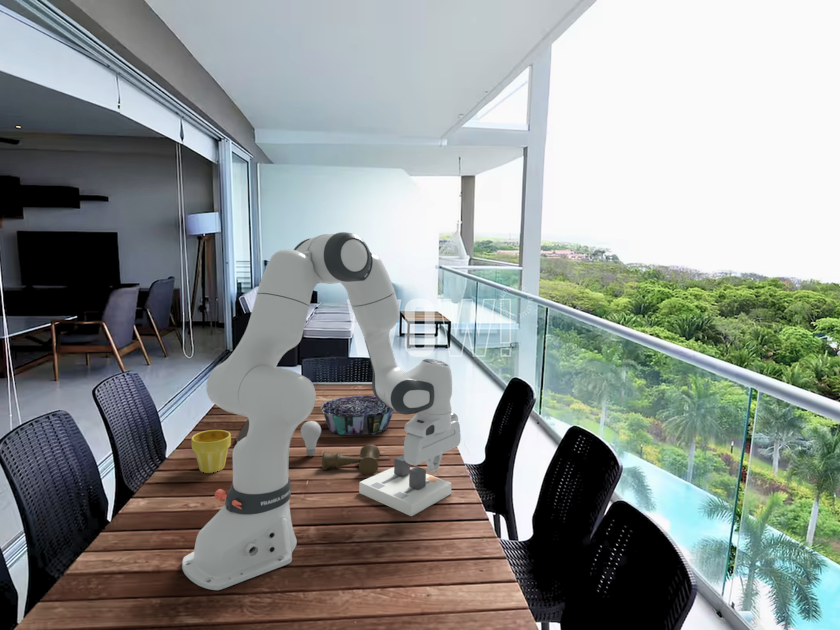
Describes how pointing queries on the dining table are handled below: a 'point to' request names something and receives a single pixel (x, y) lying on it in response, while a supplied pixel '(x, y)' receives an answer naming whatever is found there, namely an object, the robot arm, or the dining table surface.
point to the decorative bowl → (356, 415)
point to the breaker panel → (404, 491)
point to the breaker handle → (401, 466)
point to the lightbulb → (310, 436)
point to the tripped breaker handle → (417, 478)
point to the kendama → (356, 460)
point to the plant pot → (211, 449)
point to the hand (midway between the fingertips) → (433, 470)
